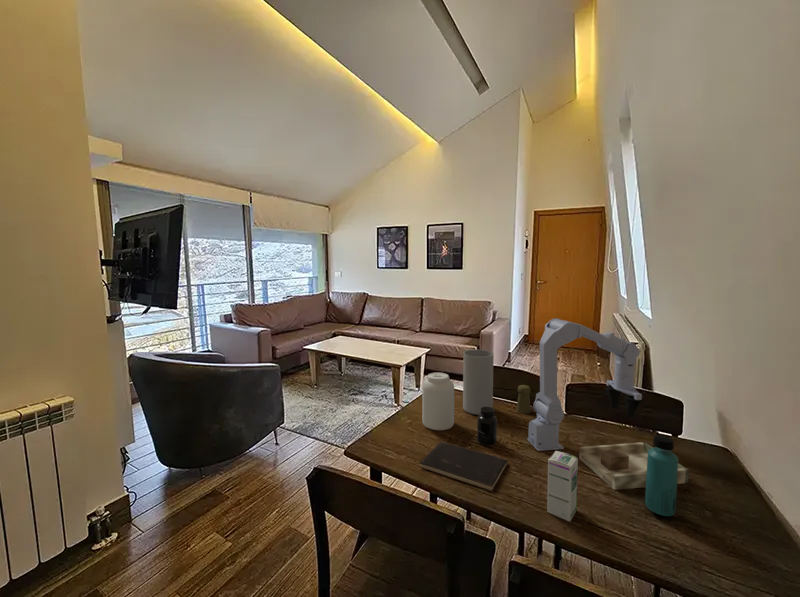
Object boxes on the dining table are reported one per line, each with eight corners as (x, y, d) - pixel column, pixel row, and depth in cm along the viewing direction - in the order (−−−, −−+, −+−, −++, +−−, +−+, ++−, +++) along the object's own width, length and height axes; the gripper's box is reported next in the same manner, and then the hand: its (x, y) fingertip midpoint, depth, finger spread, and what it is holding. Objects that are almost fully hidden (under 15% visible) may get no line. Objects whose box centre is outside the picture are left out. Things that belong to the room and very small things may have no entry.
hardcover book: (492, 493, 100) (492, 485, 100) (419, 469, 112) (419, 462, 112) (507, 465, 113) (507, 458, 113) (441, 446, 125) (441, 440, 125)
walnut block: (609, 470, 106) (610, 457, 106) (600, 463, 110) (601, 450, 110) (628, 469, 107) (628, 456, 107) (618, 461, 111) (619, 449, 110)
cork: (528, 408, 156) (529, 383, 155) (532, 413, 150) (533, 388, 149) (514, 407, 157) (515, 383, 156) (517, 413, 151) (518, 388, 150)
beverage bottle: (677, 526, 86) (683, 447, 84) (643, 516, 90) (648, 440, 88) (673, 510, 92) (679, 436, 90) (642, 501, 95) (647, 429, 93)
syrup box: (570, 522, 88) (572, 467, 86) (545, 512, 92) (547, 458, 90) (576, 510, 92) (579, 457, 91) (553, 500, 96) (555, 449, 94)
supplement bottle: (475, 444, 126) (475, 411, 125) (478, 435, 132) (479, 404, 131) (495, 447, 123) (496, 414, 122) (497, 438, 130) (498, 406, 128)
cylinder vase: (486, 418, 146) (487, 358, 144) (458, 411, 153) (458, 354, 151) (496, 407, 157) (497, 351, 154) (469, 401, 164) (470, 348, 161)
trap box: (614, 489, 100) (615, 476, 100) (579, 458, 116) (579, 447, 116) (687, 482, 103) (689, 469, 102) (643, 453, 119) (644, 442, 118)
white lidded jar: (416, 424, 141) (415, 375, 139) (434, 414, 151) (434, 368, 148) (442, 434, 133) (442, 382, 131) (460, 422, 142) (460, 374, 140)
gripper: (651, 381, 119) (648, 420, 121) (619, 368, 134) (617, 403, 135) (631, 382, 118) (629, 421, 120) (602, 369, 133) (600, 404, 134)
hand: (621, 411), depth 127 cm, fingers open, 7 cm apart
